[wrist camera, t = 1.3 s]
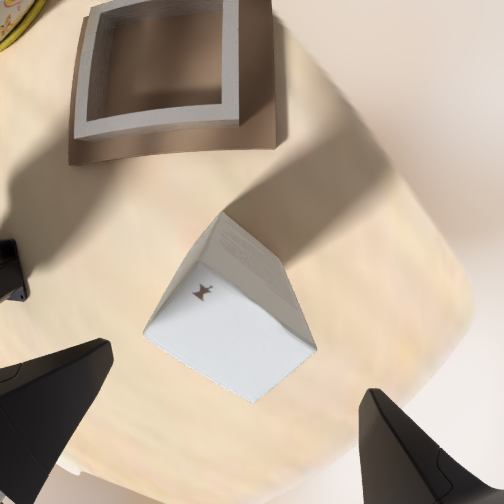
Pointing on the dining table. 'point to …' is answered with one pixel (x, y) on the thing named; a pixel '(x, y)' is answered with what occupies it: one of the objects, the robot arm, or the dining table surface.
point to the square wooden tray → (184, 83)
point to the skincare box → (232, 313)
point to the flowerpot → (16, 18)
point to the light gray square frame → (160, 120)
